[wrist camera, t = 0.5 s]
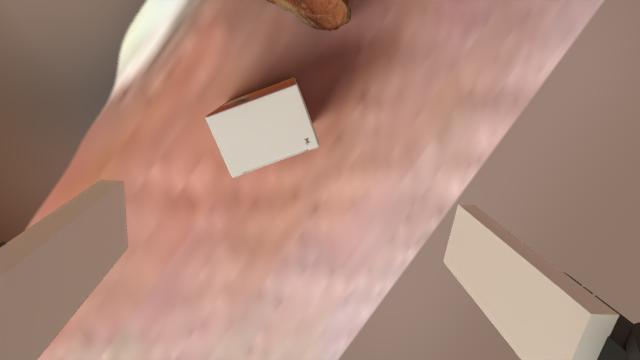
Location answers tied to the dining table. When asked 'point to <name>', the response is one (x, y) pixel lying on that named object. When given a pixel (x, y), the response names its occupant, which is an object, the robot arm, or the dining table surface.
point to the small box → (263, 127)
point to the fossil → (318, 12)
